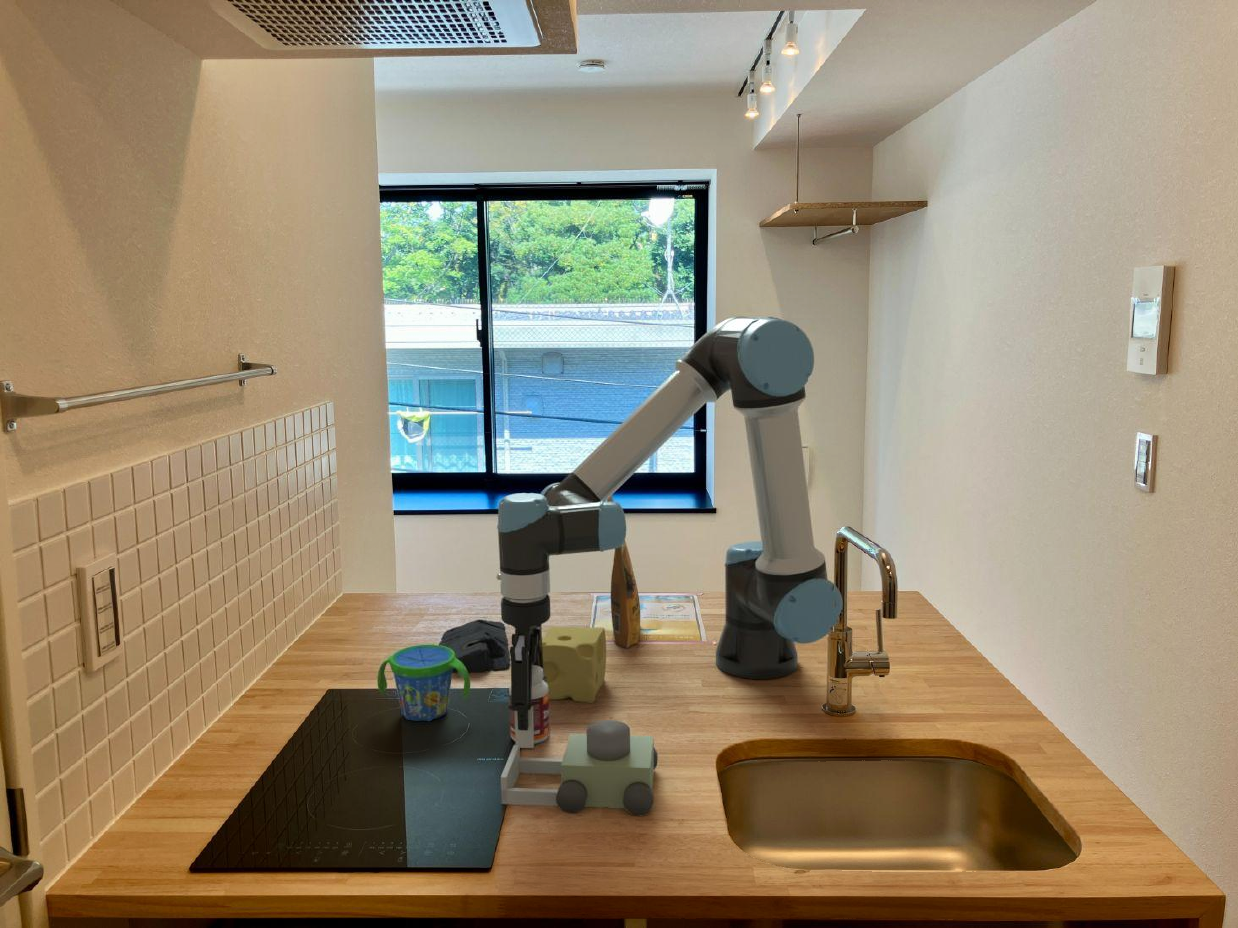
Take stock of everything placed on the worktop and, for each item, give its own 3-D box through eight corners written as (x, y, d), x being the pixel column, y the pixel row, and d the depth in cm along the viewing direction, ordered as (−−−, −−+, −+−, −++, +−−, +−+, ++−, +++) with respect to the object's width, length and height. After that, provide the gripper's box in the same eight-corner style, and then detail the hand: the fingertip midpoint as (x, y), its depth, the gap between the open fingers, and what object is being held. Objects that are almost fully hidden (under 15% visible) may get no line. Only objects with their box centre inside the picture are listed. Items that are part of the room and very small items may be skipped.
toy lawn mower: (657, 768, 134) (657, 711, 132) (653, 816, 121) (652, 753, 120) (517, 764, 135) (515, 707, 134) (499, 810, 123) (496, 748, 122)
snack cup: (482, 705, 155) (479, 648, 153) (452, 733, 145) (449, 673, 144) (400, 694, 160) (397, 639, 158) (367, 721, 150) (363, 662, 148)
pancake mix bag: (604, 651, 178) (602, 511, 173) (609, 617, 197) (607, 490, 192) (639, 651, 178) (638, 511, 173) (641, 617, 196) (640, 489, 191)
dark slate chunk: (515, 632, 191) (515, 610, 190) (509, 674, 169) (508, 650, 168) (441, 634, 190) (440, 612, 189) (425, 677, 168) (424, 653, 167)
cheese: (594, 704, 155) (593, 648, 153) (533, 699, 157) (531, 644, 156) (607, 679, 165) (606, 626, 163) (550, 675, 167) (548, 623, 166)
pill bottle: (552, 743, 142) (550, 676, 140) (513, 748, 140) (510, 680, 138) (546, 725, 148) (544, 660, 146) (508, 729, 146) (505, 664, 144)
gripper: (514, 575, 150) (518, 706, 154) (486, 617, 130) (491, 766, 135) (559, 575, 149) (562, 707, 153) (538, 618, 130) (542, 767, 134)
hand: (529, 734), depth 144 cm, fingers open, 7 cm apart
